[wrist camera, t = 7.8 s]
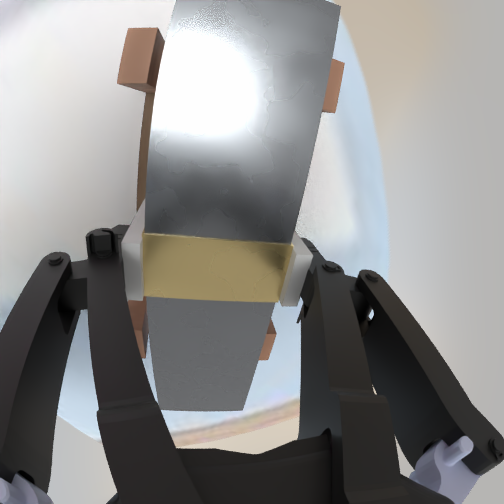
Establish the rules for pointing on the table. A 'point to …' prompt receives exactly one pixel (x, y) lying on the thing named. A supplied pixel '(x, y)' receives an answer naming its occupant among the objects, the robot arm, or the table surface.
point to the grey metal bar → (227, 186)
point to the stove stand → (145, 79)
